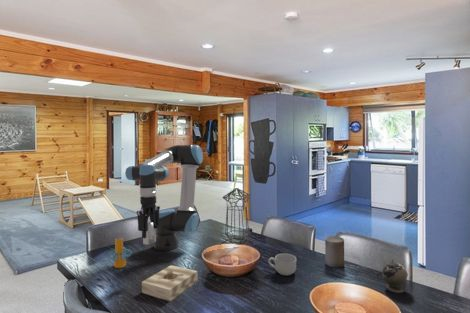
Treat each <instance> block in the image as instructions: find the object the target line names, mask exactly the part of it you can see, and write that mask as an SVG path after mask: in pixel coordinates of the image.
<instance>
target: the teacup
mask: <svg viewBox="0 0 470 313" xmlns="http://www.w3.org/2000/svg"><path fill="white" fill-rule="evenodd" d="M271 261H273V263H274V264H272V262H271ZM267 262H268V264H269V266H270V267H272V268H274V269H275V270H276V272H277V273H279V275H281V276H291V275H293V274H294V273H295V272H296V270H297V257H296V256H295V255H293V254H290V253H278V254H276V255H275V257H272V256H271V257H269V258H268V260H267Z"/></svg>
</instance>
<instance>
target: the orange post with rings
mask: <svg viewBox="0 0 470 313" xmlns="http://www.w3.org/2000/svg"><path fill="white" fill-rule="evenodd" d="M114 245H115V247H114V251H112V250H111V251H109V252H107V255H106V256H107V258H108V259H109V260H113V267H114V268H115V269H119V268H120V269H121V268H124V267H125V266H126V265H127V260H126V258H129V257H130V256H132V250H131V249H128V248H126V247H125V246H124V238H123V237H116V238H114ZM127 251H128V252H129V254H127ZM111 254H113V255H112V257H110V255H111Z"/></svg>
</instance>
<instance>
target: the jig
mask: <svg viewBox="0 0 470 313" xmlns="http://www.w3.org/2000/svg"><path fill="white" fill-rule="evenodd" d="M198 278H199V277H198V271H197V270H195V269H194V270H193V269H188V268H185V267H181V266H177V265H172V264H171V265H169V266H167V267H166V268H163V269H162V270H160V271H158V272H157V273H155V274H153V275H151V276H149V277H148V278H146V279H144V280H143V281H141V293H142V294H145V295H148V296H152V297H154V298H158V299H160V300H161V299H162V300H163V301H164V300H165V301H168V302H172V301H173V300H174V299H176V298H177V297H178V296H180V295H181V294H182V293H184V292H185V291H187V290H188V289H189V288H190V287H192V286H194V285H195V284H196V283H198V280H199V279H198Z"/></svg>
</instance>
